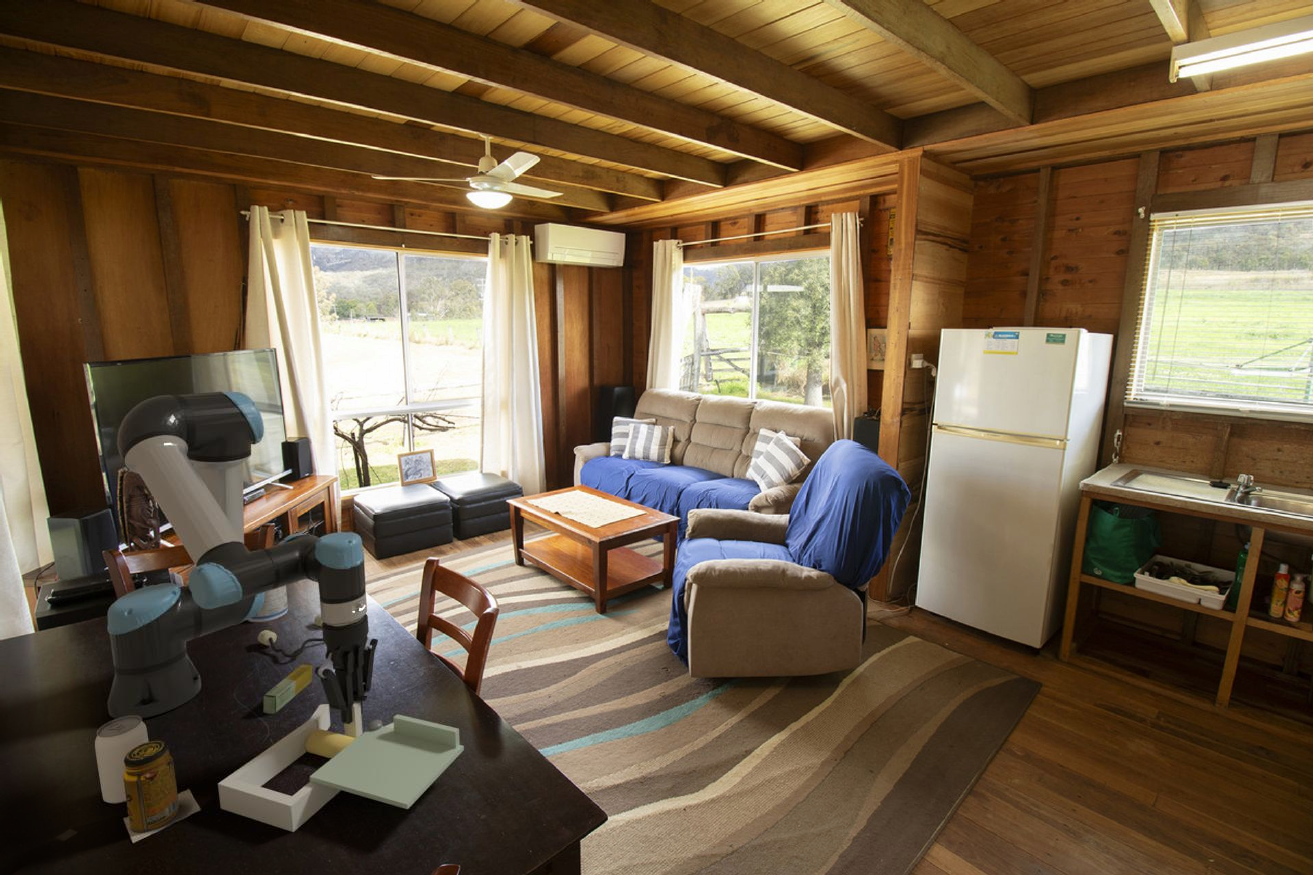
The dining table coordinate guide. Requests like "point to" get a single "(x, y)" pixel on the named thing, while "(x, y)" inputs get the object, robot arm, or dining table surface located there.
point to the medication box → (287, 689)
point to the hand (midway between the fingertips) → (353, 734)
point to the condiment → (153, 791)
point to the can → (117, 753)
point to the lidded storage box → (245, 783)
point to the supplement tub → (272, 605)
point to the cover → (393, 760)
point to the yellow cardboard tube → (327, 743)
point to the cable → (270, 638)
